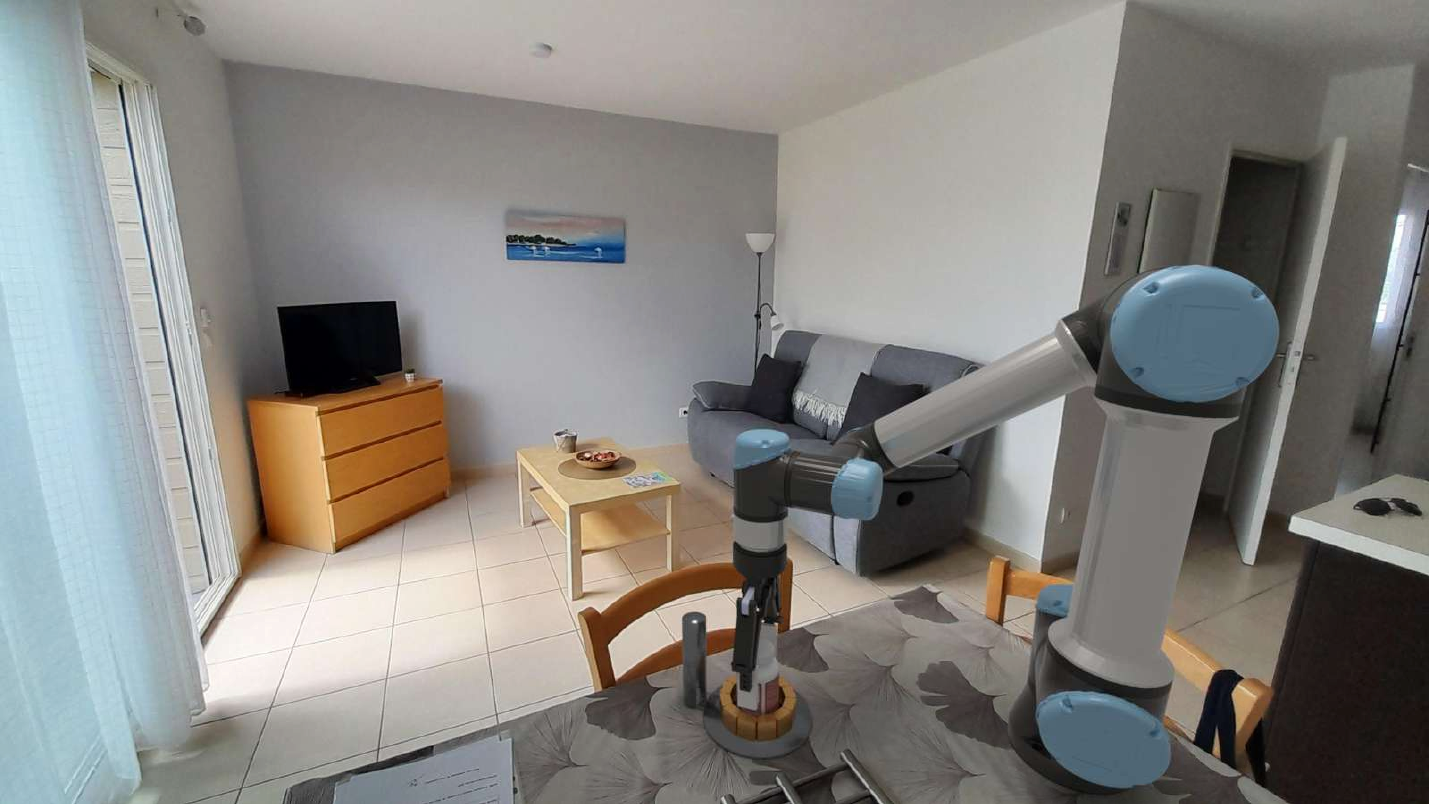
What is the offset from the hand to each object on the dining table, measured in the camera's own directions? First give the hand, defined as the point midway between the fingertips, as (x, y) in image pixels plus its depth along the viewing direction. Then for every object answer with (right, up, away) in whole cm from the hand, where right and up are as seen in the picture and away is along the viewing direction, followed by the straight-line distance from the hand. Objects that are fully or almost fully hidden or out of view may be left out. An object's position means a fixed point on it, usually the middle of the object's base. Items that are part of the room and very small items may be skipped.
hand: (757, 683), depth 87 cm
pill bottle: (0, -5, +1) cm, 5 cm away
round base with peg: (-2, -5, +2) cm, 6 cm away
